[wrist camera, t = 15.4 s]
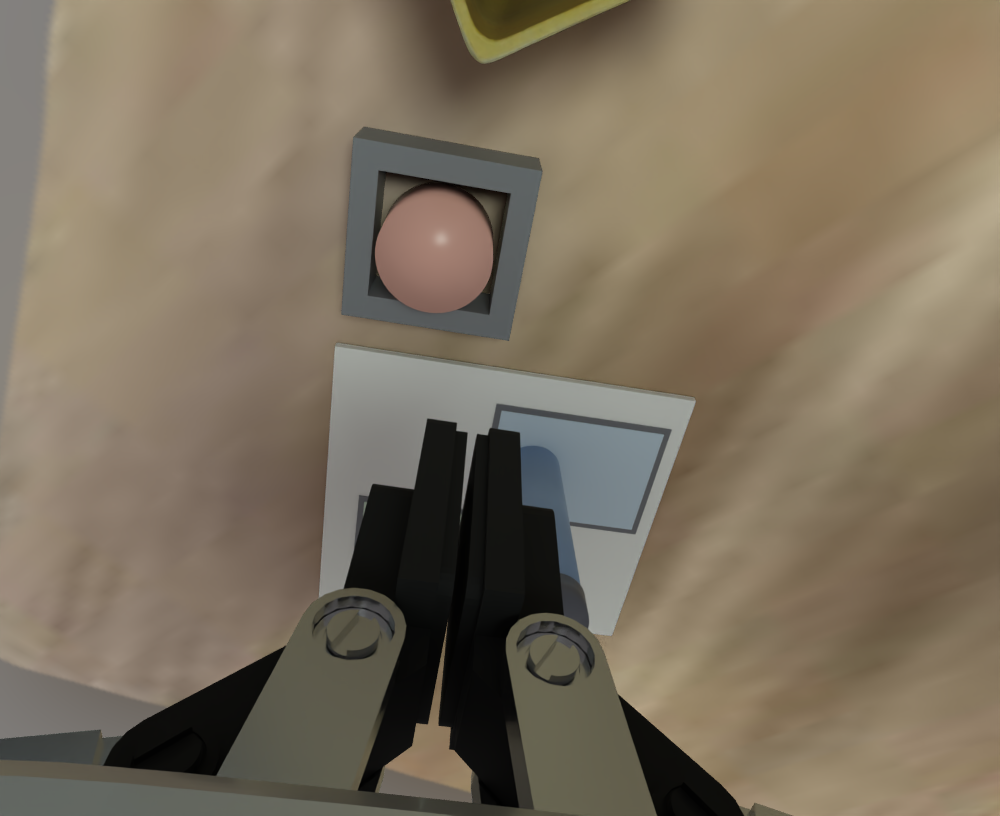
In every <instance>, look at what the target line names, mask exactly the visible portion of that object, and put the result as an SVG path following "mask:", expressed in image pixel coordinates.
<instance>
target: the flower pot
mask: <svg viewBox="0 0 1000 816" xmlns="http://www.w3.org/2000/svg"><path fill="white" fill-rule="evenodd" d="M450 1H451V4H452V7H453V10H454V13H455V16H456V19H457V22H458V25H459V27H460V30H461V33H462V36H463V39H464V42H465V44H466V46H467V48H468V51H469V53H470V54H471V55H472V56H473V58H474V59H475V60H476V61H478V62H479V63H481V64H486V63H491V62H494V61H497V60H499V59H502V58H504V57H506V56H508V55H510V54H512V53H515V52H517V51H519V50H521V49H523V48H525V47H527V46H529V45H532V44H534V43H536V42H538V41H540V40H542V39H545V38H547V37H549V36H552V35H554V34H556V33H558V32H561V31H563V30H565V29H567V28H569V27H571V26H574V25H576V24H578V23H580V22H583V21H585V20H587V19H589V18H591V17H593V16H596V15H598V14H600V13H603V12H605V11H607V10H609V9H612V8H614V7H616V6H619V5H621V4H623V3H625V2H628V1H630V0H450Z"/></svg>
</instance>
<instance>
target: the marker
mask: <svg viewBox="0 0 1000 816" xmlns="http://www.w3.org/2000/svg"><path fill="white" fill-rule="evenodd" d="M521 478H522V505H527V506H534V507H541V508H548V509H553V511H554V515H555V523H556V534H557V545H558V556H559V567H560V578H561V589H562V600H563V610H564V616H565V617H568V618H571V619H573V620H575V621H577V622H578V623H580V624H581V625H583V626H584V627H586V628H587V629H588V627H589V615H588V609H587V604H586V598H585V593H584V590H583V588H582V586H581V585H580V579H579V573H578V568H577V562H576V556H575V551H574V545H573V539H572V534H571V528H570V522H569V517H568V511H567V505H566V500H565V494H564V488H563V483H562V477H561V471H560V466H559V461H558V459H557V457H556V456H555V455H554V454H553V453H552V452H551V451H549V450H548V449H546V448H543V447H540V446H526V447H522V448H521Z"/></svg>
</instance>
